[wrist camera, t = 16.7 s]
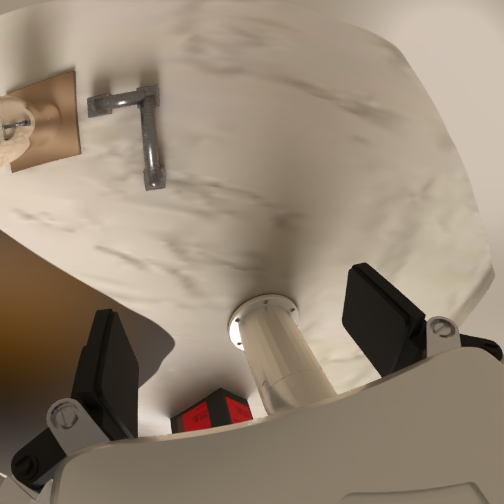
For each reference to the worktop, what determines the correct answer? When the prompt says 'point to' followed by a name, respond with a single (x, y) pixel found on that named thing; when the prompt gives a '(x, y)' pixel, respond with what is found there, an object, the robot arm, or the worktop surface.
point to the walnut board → (67, 139)
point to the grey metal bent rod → (146, 102)
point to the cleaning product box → (212, 413)
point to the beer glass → (25, 126)
